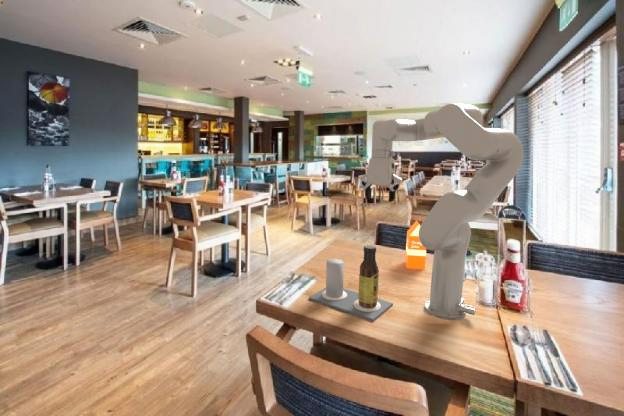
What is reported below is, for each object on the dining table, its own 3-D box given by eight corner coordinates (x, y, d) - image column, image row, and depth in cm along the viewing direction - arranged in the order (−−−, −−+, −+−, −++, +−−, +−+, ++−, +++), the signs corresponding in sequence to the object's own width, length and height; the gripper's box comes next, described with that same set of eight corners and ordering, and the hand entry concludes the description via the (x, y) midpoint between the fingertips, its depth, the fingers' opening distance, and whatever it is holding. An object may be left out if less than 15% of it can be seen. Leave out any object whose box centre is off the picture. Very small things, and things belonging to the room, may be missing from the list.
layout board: (392, 305, 119) (394, 268, 116) (373, 321, 108) (375, 281, 105) (331, 286, 133) (332, 253, 131) (308, 299, 122) (309, 263, 120)
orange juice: (406, 268, 154) (409, 223, 150) (404, 261, 163) (407, 219, 159) (425, 269, 153) (428, 224, 149) (422, 262, 161) (425, 220, 158)
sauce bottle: (377, 310, 113) (379, 250, 109) (357, 308, 114) (359, 249, 110) (377, 301, 119) (380, 244, 115) (358, 299, 120) (360, 243, 117)
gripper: (407, 155, 129) (404, 201, 133) (366, 154, 140) (364, 196, 143) (399, 155, 124) (396, 203, 127) (356, 154, 134) (355, 198, 137)
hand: (379, 199), depth 135 cm, fingers open, 9 cm apart
